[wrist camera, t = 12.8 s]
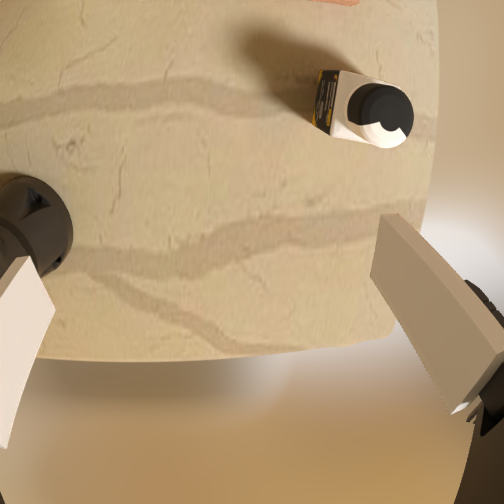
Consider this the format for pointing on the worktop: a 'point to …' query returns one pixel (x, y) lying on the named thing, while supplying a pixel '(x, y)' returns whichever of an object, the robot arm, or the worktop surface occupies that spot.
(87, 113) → the worktop surface
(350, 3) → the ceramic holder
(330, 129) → the medicine bottle
